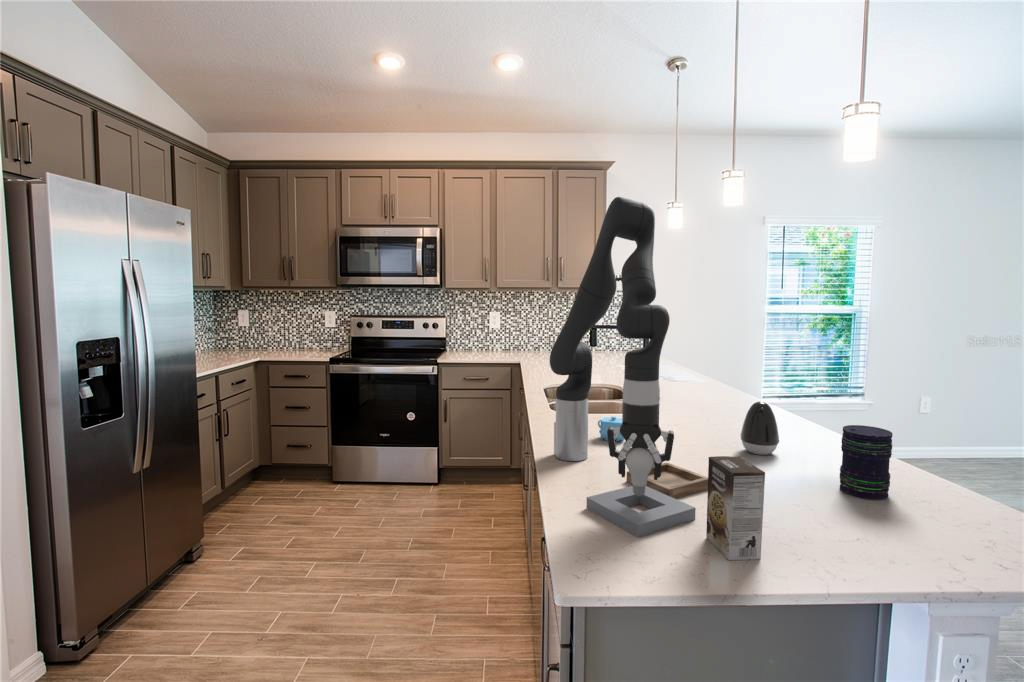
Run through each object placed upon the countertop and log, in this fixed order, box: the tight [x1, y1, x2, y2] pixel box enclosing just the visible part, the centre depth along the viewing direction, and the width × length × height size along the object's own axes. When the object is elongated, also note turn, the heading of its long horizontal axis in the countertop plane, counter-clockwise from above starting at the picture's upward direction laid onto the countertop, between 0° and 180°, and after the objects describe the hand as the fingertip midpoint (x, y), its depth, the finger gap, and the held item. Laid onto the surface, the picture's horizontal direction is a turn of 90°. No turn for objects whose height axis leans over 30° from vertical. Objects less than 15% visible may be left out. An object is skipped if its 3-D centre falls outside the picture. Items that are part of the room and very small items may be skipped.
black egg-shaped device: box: [740, 401, 780, 456], centre depth 154 cm, size 10×10×15 cm
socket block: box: [586, 485, 696, 538], centre depth 112 cm, size 16×16×2 cm
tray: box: [626, 461, 708, 499], centre depth 129 cm, size 14×14×2 cm
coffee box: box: [706, 455, 766, 561], centre depth 96 cm, size 9×6×16 cm
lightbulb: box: [625, 447, 655, 496], centre depth 112 cm, size 6×6×11 cm
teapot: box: [597, 415, 625, 442], centre depth 169 cm, size 12×6×8 cm, turn 69°
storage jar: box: [839, 424, 893, 501], centre depth 123 cm, size 10×10×15 cm
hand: (639, 477), depth 112 cm, fingers closed on lightbulb, 6 cm apart
